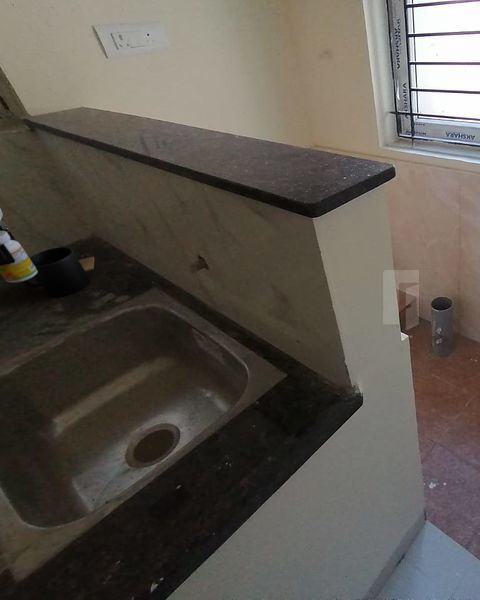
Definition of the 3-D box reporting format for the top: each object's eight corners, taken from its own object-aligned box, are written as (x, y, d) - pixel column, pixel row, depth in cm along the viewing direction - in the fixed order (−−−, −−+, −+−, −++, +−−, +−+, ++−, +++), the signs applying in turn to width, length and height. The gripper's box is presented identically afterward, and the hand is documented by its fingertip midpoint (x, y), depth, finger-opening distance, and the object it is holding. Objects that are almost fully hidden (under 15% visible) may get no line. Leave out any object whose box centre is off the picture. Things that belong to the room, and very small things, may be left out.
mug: (34, 288, 99) (12, 258, 94) (89, 272, 105) (71, 243, 100) (34, 306, 93) (10, 275, 88) (92, 288, 99) (73, 257, 94)
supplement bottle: (0, 280, 81) (-31, 238, 75) (28, 267, 85) (1, 227, 79) (16, 285, 79) (-15, 243, 73) (44, 272, 83) (17, 231, 77)
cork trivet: (63, 277, 104) (61, 275, 103) (65, 265, 108) (64, 263, 108) (93, 269, 106) (92, 267, 106) (94, 258, 111) (93, 256, 111)
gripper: (-67, 158, 73) (-6, 244, 84) (-103, 188, 61) (-26, 282, 72) (-15, 152, 76) (37, 235, 87) (-40, 179, 64) (24, 271, 75)
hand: (8, 256), depth 79 cm, fingers closed on supplement bottle, 5 cm apart
